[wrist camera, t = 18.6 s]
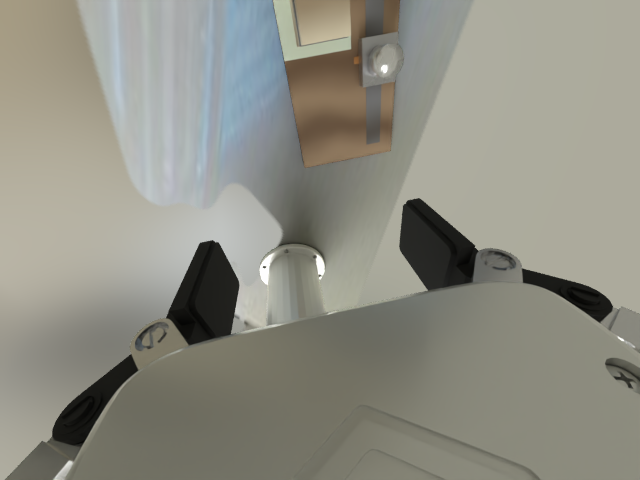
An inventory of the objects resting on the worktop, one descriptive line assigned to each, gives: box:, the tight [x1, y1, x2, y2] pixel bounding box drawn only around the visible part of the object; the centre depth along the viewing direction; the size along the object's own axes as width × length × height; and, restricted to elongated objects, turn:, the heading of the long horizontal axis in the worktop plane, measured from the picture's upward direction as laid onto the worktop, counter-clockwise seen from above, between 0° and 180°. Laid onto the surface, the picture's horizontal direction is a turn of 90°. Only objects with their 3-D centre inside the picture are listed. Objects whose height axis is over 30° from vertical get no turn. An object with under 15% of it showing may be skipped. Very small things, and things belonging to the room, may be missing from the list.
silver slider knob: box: [358, 32, 404, 88], centre depth 23 cm, size 4×4×4 cm
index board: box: [273, 0, 400, 168], centre depth 25 cm, size 20×12×2 cm, turn 8°
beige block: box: [289, 0, 351, 47], centre depth 19 cm, size 5×4×6 cm
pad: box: [273, 0, 351, 61], centre depth 21 cm, size 7×7×1 cm
